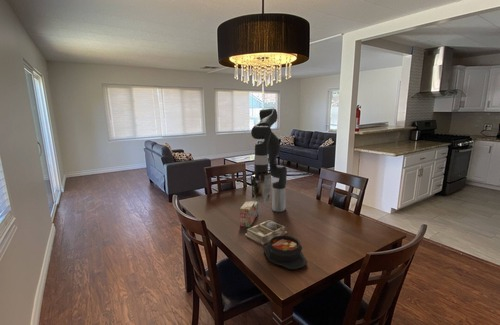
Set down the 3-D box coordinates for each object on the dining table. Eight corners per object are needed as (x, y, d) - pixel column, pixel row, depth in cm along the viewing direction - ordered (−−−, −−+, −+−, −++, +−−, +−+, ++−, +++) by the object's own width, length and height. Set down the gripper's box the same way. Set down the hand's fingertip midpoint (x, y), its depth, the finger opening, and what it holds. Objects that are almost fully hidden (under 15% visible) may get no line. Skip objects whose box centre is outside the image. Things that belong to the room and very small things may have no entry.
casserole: (255, 251, 133) (255, 236, 131) (283, 241, 142) (283, 228, 140) (285, 278, 112) (286, 260, 110) (316, 264, 121) (317, 248, 120)
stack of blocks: (249, 213, 182) (249, 196, 179) (258, 214, 180) (258, 197, 177) (240, 226, 161) (239, 208, 159) (249, 227, 160) (249, 209, 157)
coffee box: (251, 199, 144) (251, 171, 141) (258, 196, 149) (258, 169, 145) (263, 203, 138) (263, 174, 135) (271, 200, 143) (271, 172, 139)
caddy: (268, 224, 163) (268, 217, 162) (286, 233, 152) (287, 225, 151) (245, 235, 150) (245, 227, 149) (263, 245, 139) (263, 236, 138)
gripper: (265, 159, 146) (265, 187, 150) (246, 163, 137) (247, 193, 140) (275, 161, 141) (274, 190, 144) (256, 165, 131) (256, 196, 135)
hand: (261, 191), depth 142 cm, fingers closed on coffee box, 6 cm apart
